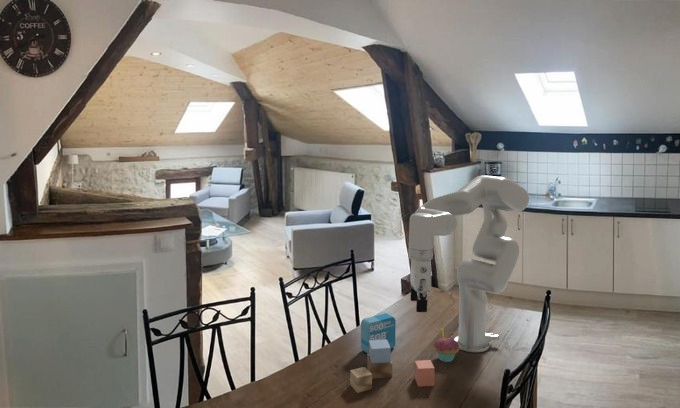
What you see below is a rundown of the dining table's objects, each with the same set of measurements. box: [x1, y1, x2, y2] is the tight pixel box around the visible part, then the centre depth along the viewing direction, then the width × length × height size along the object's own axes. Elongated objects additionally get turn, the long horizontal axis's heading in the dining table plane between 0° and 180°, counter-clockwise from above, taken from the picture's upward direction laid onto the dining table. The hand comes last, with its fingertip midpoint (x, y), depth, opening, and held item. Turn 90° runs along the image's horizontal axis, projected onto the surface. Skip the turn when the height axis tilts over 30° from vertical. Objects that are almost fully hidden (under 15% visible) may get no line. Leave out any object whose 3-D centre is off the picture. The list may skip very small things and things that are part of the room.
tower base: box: [366, 353, 393, 380], centre depth 161 cm, size 7×7×5 cm
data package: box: [360, 312, 397, 354], centre depth 176 cm, size 12×4×12 cm, turn 120°
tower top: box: [369, 339, 392, 364], centre depth 160 cm, size 6×6×5 cm
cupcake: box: [433, 327, 460, 363], centre depth 169 cm, size 9×8×12 cm
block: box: [349, 366, 373, 394], centre depth 153 cm, size 5×5×5 cm
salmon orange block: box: [414, 359, 435, 388], centre depth 155 cm, size 5×5×6 cm
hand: (418, 306), depth 156 cm, fingers open, 9 cm apart
